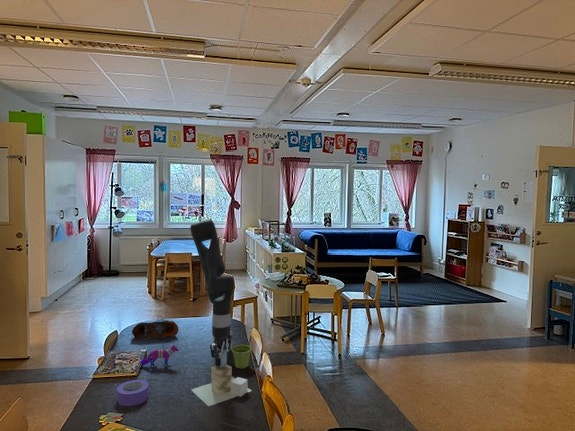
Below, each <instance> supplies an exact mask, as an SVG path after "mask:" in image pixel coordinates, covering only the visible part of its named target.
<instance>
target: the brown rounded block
mask: <svg viewBox="0 0 575 431" xmlns="http://www.w3.org/2000/svg"><path fill="white" fill-rule="evenodd" d="M178 333H179V326H178V324H177V323H176V322H175V321H173V320H162V321H152V322H140V323H138V324H136V325H134V327H133V328H132V330H131V335H133V336H134V338H135V339H136V340H138V341H140V340H144V341H147V340H148V341H149V340H154V341H155V338H157V340H166V337H170V338H171V339H173V338H174V337H176V335H178Z"/></svg>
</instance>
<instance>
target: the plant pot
mask: <svg viewBox="0 0 575 431" xmlns="http://www.w3.org/2000/svg"><path fill="white" fill-rule="evenodd" d="M230 351H231V352H232V355H233V360H234V367H235V368H237V369H246V368H247V367H249V360H250V354H251V351H252V347H251V346H250V345H246V344H238V345H234V346H232V349H230Z"/></svg>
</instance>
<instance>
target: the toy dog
mask: <svg viewBox="0 0 575 431" xmlns="http://www.w3.org/2000/svg"><path fill="white" fill-rule="evenodd" d="M179 351H180V349H178V346H176V345H175V343H173V345H172V346H171V347H169V348H167V349H154V350H153V351H152V350H151V352H150V353H149V354H148V355H147V357H145V358H144V359H142V360H140V362H139V363H140V364H141V365H147V364H149V363H150V365H151V366H153V367H154V368H157V366H156V365H155V362H156V361H157V360H158V358H160V359H164V365H166V367H169V368H170V365H169V363H168V361H169V359H170V358H171V356H172V355H173V354H174V353H175V352H179Z"/></svg>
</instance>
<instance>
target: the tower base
mask: <svg viewBox="0 0 575 431" xmlns="http://www.w3.org/2000/svg"><path fill="white" fill-rule="evenodd" d="M211 383H212V390H213V391H214V392H215V393H216V394H217V395H221V394H224V393H227V392H230V391H231V379H230V380H227V381H225V382H223V383H221V384H220V383H218V382H216V381H214V380H212V379H211Z"/></svg>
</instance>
